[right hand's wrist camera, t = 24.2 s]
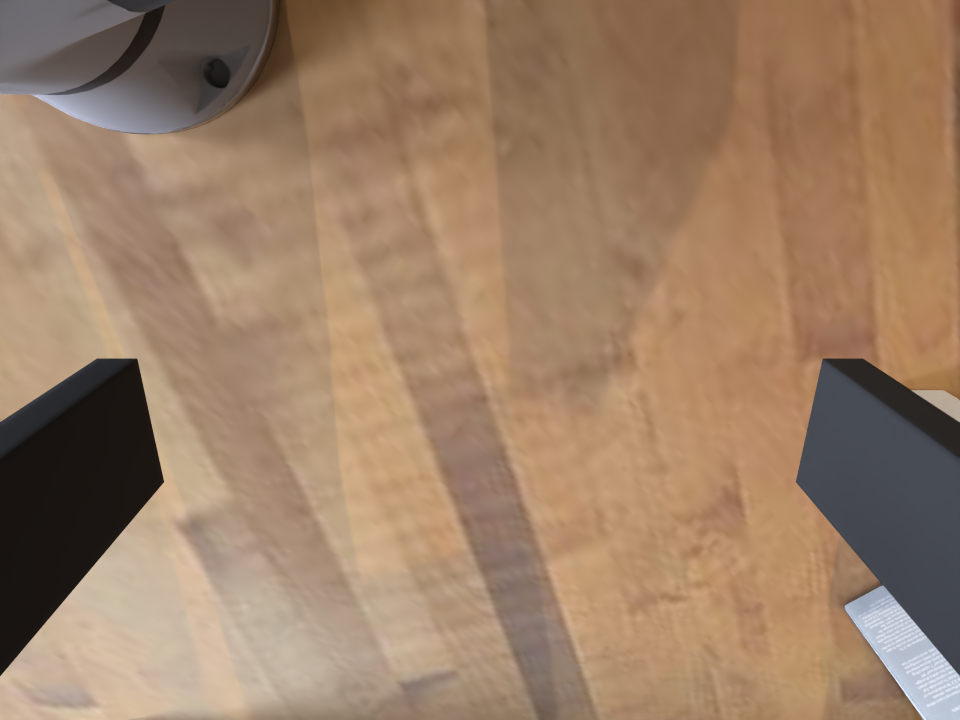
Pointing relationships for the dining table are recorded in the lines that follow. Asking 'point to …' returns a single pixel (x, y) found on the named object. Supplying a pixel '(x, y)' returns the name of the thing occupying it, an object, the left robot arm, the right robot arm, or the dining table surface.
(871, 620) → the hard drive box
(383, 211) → the dining table surface
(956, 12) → the dining table surface
